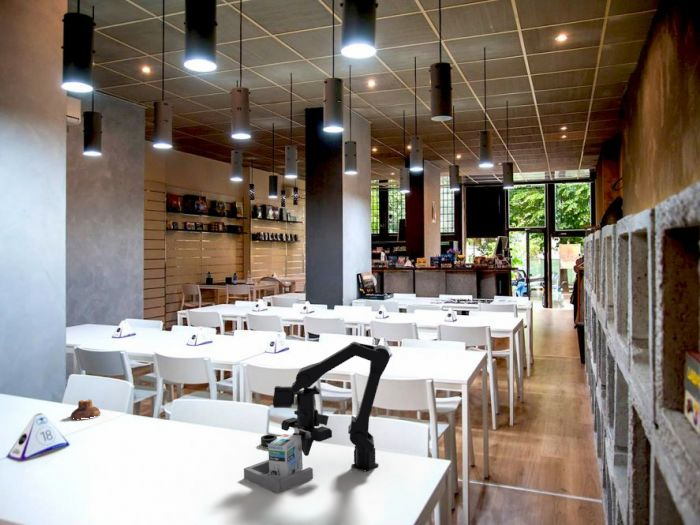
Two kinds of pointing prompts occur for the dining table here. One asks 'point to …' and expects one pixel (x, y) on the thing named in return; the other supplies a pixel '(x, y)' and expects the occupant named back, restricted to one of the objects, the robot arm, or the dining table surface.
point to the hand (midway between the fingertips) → (306, 455)
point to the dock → (257, 476)
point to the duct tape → (267, 440)
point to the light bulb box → (285, 456)
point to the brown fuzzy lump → (85, 410)
